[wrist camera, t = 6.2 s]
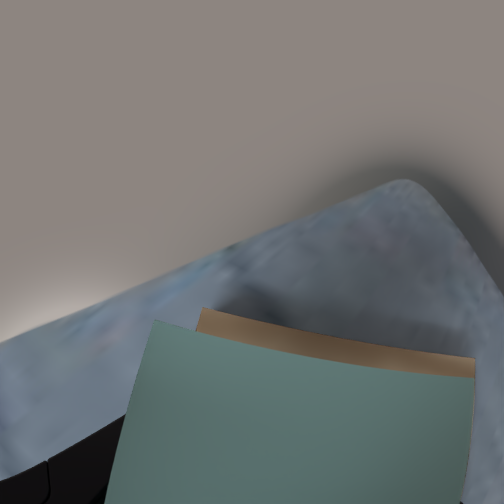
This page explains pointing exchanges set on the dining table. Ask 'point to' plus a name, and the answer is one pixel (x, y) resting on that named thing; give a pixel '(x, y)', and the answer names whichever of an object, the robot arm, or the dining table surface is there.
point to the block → (285, 429)
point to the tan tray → (332, 347)
